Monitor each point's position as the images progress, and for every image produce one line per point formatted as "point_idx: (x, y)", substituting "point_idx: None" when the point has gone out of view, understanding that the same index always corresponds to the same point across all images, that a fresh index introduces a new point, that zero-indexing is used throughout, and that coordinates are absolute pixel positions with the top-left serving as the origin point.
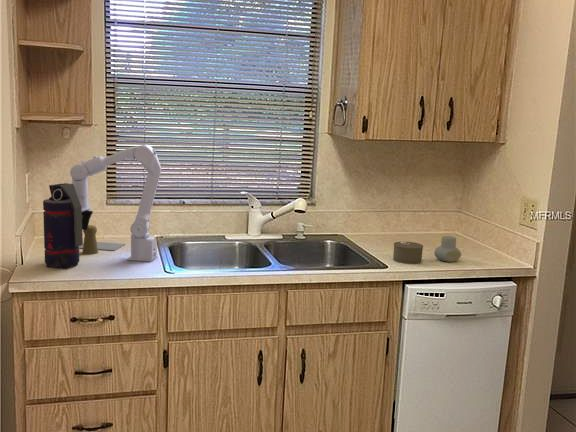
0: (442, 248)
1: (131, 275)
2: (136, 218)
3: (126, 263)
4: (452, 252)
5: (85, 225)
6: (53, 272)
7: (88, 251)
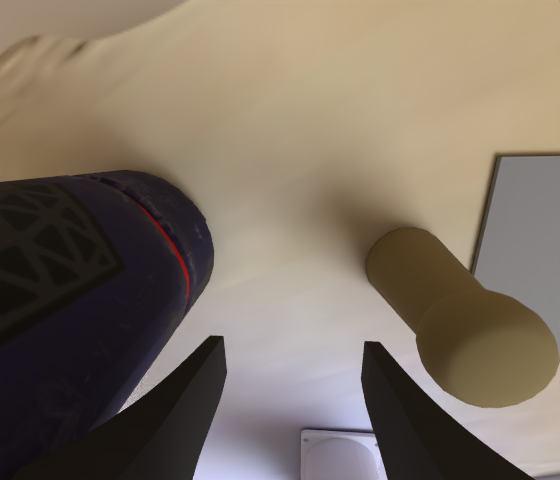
0: None
1: None
2: None
3: (260, 433)
4: None
5: (371, 406)
6: None
7: (371, 276)
